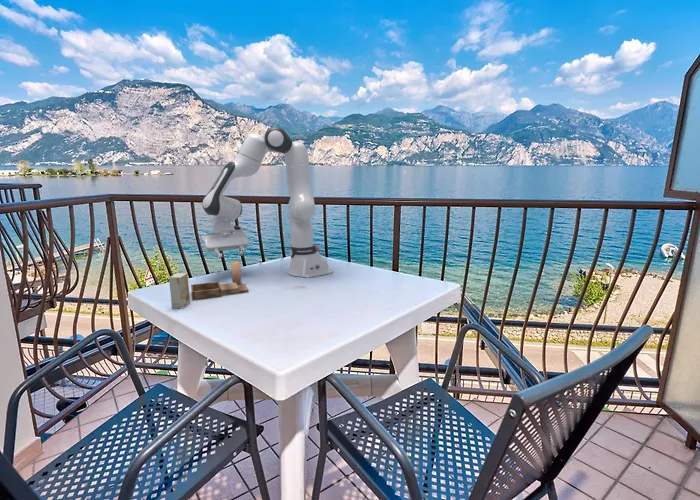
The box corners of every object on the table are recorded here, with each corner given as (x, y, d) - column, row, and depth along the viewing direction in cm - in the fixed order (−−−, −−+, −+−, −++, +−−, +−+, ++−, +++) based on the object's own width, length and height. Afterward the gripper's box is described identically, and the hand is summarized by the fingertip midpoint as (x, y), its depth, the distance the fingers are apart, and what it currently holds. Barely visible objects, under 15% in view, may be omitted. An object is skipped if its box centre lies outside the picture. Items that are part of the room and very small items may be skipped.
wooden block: (240, 282, 162) (239, 260, 160) (241, 284, 159) (240, 262, 157) (232, 283, 161) (230, 261, 159) (233, 285, 158) (231, 263, 155)
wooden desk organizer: (245, 286, 158) (244, 278, 157) (249, 293, 149) (248, 285, 148) (191, 292, 149) (191, 284, 148) (192, 300, 140) (191, 292, 139)
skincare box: (182, 308, 132) (179, 277, 129) (171, 308, 132) (168, 277, 129) (190, 302, 138) (188, 272, 135) (179, 302, 138) (176, 272, 135)
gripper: (201, 230, 160) (208, 255, 154) (245, 226, 172) (253, 250, 166) (199, 238, 165) (206, 263, 159) (243, 234, 176) (250, 257, 170)
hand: (231, 256), depth 163 cm, fingers open, 8 cm apart
